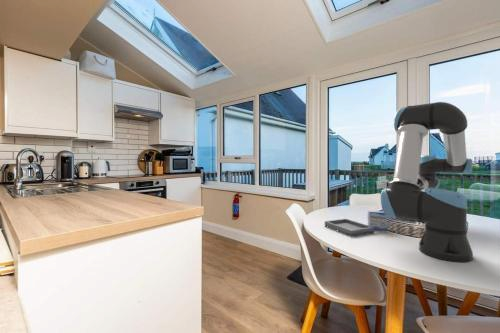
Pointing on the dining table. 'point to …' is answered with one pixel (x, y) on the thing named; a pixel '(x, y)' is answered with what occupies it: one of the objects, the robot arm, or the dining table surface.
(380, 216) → the medicine box
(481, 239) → the dining table surface
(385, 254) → the dining table surface
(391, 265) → the dining table surface
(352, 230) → the parts tray
